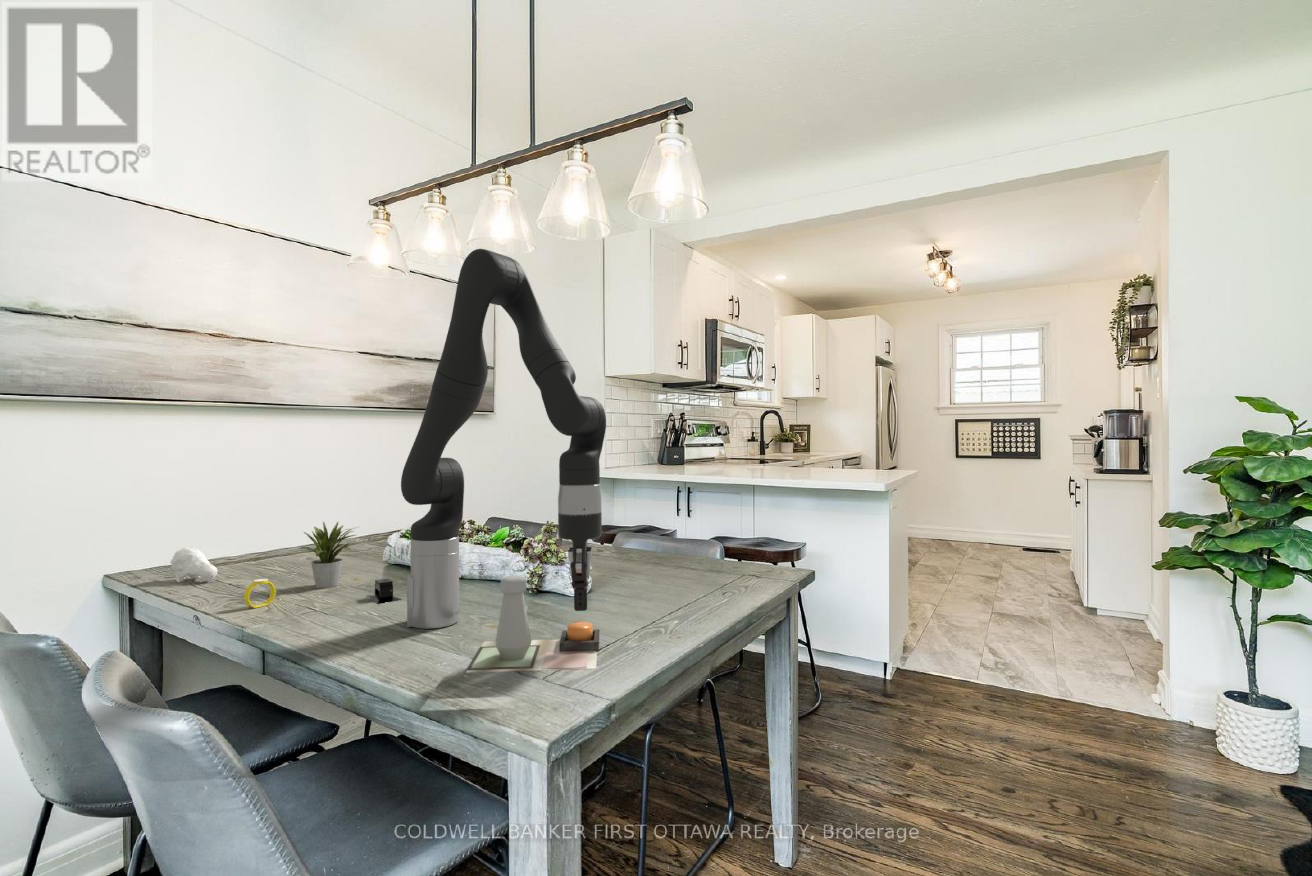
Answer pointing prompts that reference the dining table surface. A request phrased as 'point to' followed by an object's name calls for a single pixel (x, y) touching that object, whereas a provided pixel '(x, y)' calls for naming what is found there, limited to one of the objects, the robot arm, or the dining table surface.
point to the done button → (580, 631)
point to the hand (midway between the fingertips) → (580, 609)
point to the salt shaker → (513, 620)
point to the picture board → (540, 656)
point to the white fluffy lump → (192, 565)
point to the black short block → (383, 592)
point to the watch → (255, 582)
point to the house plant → (327, 556)
